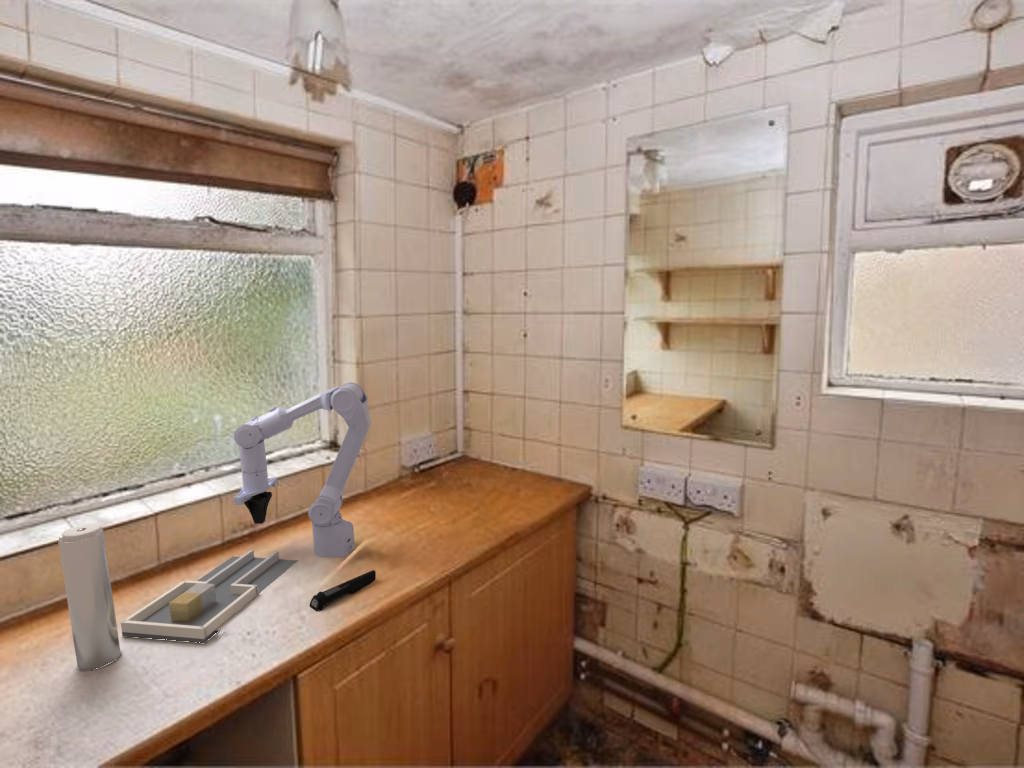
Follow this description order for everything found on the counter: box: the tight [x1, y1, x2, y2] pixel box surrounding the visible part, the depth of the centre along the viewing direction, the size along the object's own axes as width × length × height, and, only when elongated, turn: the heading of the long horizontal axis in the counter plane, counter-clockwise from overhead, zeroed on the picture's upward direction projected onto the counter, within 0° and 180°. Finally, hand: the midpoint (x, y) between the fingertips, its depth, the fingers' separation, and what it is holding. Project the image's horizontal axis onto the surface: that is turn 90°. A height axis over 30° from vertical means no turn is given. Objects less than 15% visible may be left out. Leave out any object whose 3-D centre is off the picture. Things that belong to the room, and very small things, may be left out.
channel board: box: [120, 549, 299, 644], centre depth 125 cm, size 18×33×3 cm, turn 170°
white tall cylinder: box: [57, 523, 122, 671], centre depth 102 cm, size 6×6×25 cm
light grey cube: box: [184, 583, 216, 612], centre depth 119 cm, size 4×4×4 cm
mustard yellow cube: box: [169, 593, 203, 623], centre depth 115 cm, size 4×4×4 cm
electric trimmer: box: [309, 569, 377, 612], centre depth 125 cm, size 4×16×3 cm, turn 139°
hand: (259, 522), depth 142 cm, fingers closed
